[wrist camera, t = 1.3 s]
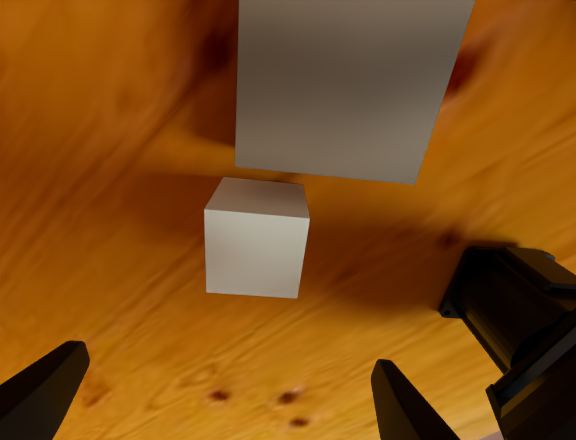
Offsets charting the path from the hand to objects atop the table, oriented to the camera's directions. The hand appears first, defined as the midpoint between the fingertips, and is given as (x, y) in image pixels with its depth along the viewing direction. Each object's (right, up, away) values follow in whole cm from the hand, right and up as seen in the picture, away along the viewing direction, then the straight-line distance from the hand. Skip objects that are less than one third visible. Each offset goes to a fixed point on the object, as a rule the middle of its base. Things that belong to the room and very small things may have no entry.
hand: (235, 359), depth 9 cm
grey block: (+4, +12, +7) cm, 14 cm away
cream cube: (0, +5, +10) cm, 11 cm away
